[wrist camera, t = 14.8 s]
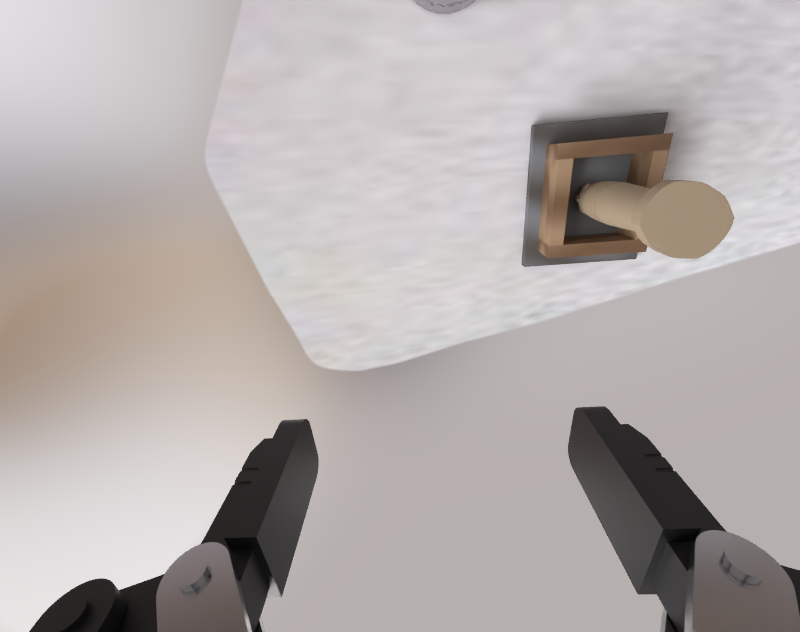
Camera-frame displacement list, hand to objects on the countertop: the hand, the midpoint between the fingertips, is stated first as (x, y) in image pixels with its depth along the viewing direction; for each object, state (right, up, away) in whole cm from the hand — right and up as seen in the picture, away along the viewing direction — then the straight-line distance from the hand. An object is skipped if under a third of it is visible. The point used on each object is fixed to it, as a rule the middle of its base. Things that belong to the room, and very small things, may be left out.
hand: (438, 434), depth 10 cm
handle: (+20, +17, +27) cm, 37 cm away
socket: (+20, +17, +28) cm, 38 cm away
